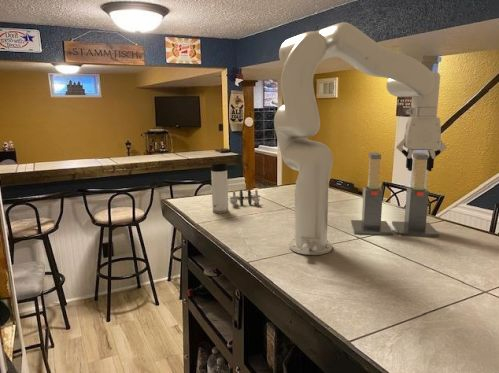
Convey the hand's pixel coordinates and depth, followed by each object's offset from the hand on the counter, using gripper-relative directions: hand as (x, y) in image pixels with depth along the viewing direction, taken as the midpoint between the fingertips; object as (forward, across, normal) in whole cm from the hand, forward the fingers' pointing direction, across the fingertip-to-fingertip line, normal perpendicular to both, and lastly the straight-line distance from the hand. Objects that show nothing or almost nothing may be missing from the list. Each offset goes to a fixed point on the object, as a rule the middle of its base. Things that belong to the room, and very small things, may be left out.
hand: (419, 169), depth 123 cm
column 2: (+14, 0, 0) cm, 14 cm away
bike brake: (+21, -63, +31) cm, 74 cm away
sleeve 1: (+20, -14, 0) cm, 25 cm away
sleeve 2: (+20, 0, 0) cm, 20 cm away
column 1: (+14, -14, 0) cm, 20 cm away
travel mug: (+21, -70, +15) cm, 75 cm away
